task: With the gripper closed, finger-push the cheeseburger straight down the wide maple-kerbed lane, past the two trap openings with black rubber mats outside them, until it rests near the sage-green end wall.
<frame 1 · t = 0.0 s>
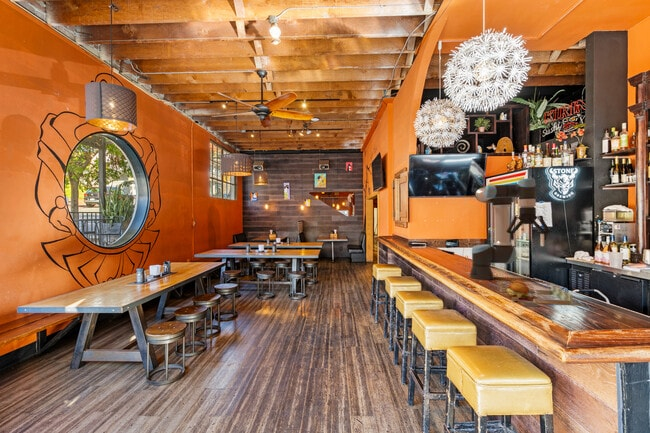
hand: (528, 246, 165), 28 cm above the table, fingers open, 13 cm apart
lane: (533, 297, 164), on the table
trap mat left: (526, 291, 177), on the table
cheeseburger: (518, 297, 166), on the table
trap mat right: (529, 304, 152), on the table
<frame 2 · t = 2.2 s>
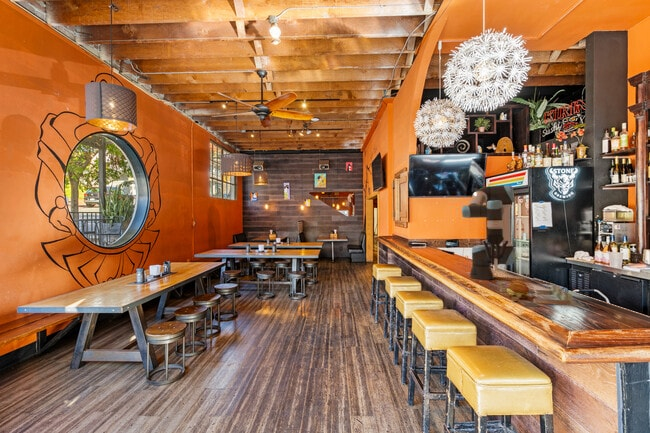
hand: (495, 270, 168), 14 cm above the table, fingers closed
nothing on the table moved.
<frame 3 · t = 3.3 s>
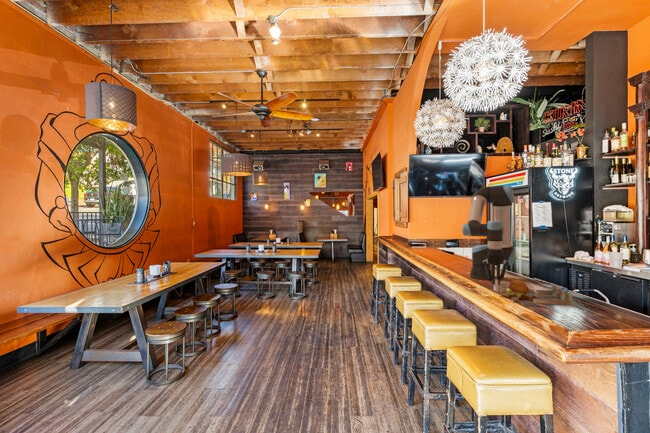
hand: (496, 290, 169), 3 cm above the table, fingers closed
nothing on the table moved.
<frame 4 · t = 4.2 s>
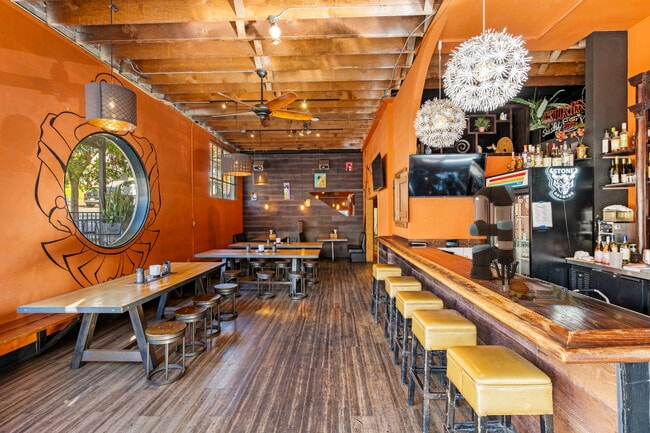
hand: (505, 291, 167), 3 cm above the table, fingers closed
cheeseburger: (518, 297, 166), on the table, touching gripper
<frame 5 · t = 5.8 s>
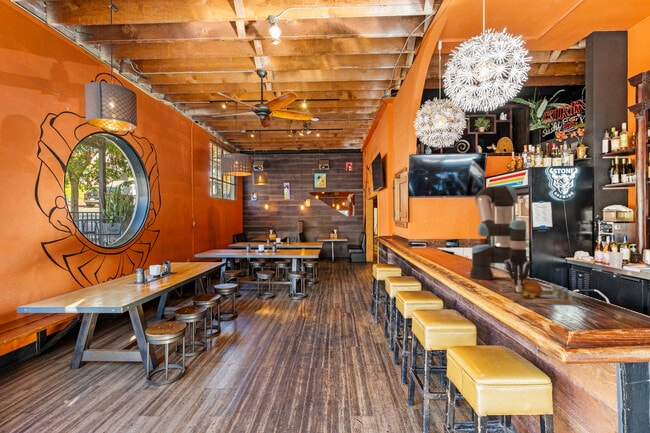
hand: (518, 291, 165), 3 cm above the table, fingers closed
cheeseburger: (531, 297, 164), on the table, touching gripper
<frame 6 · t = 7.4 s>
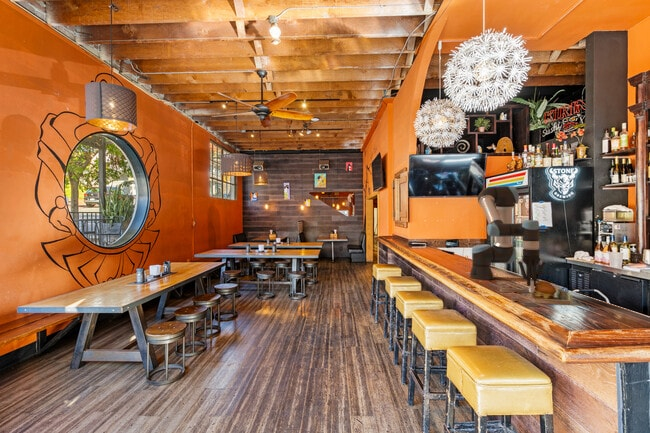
hand: (531, 292, 164), 3 cm above the table, fingers closed
cheeseburger: (544, 298, 163), on the table, touching gripper
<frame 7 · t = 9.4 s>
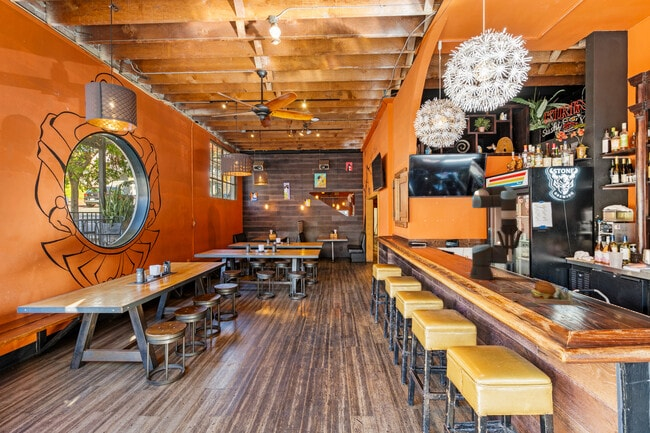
hand: (509, 260, 168), 20 cm above the table, fingers closed
cheeseburger: (543, 298, 163), on the table
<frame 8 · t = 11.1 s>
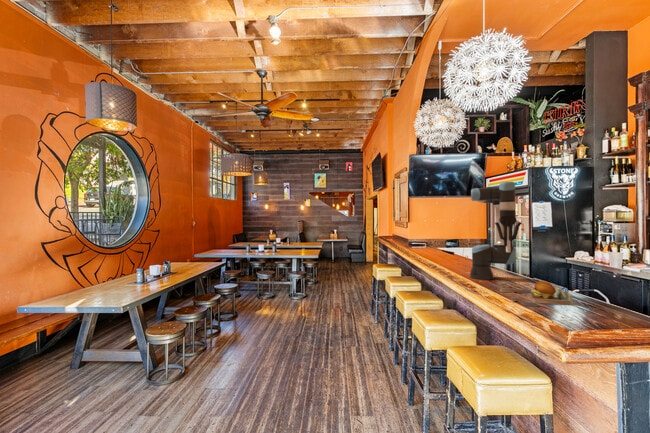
hand: (508, 252, 169), 24 cm above the table, fingers closed
nothing on the table moved.
at the end: cheeseburger inside the target area (1.6 cm from its centre), on the table; cheeseburger tilted 1°; cheeseburger moved 12.3 cm from its start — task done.
